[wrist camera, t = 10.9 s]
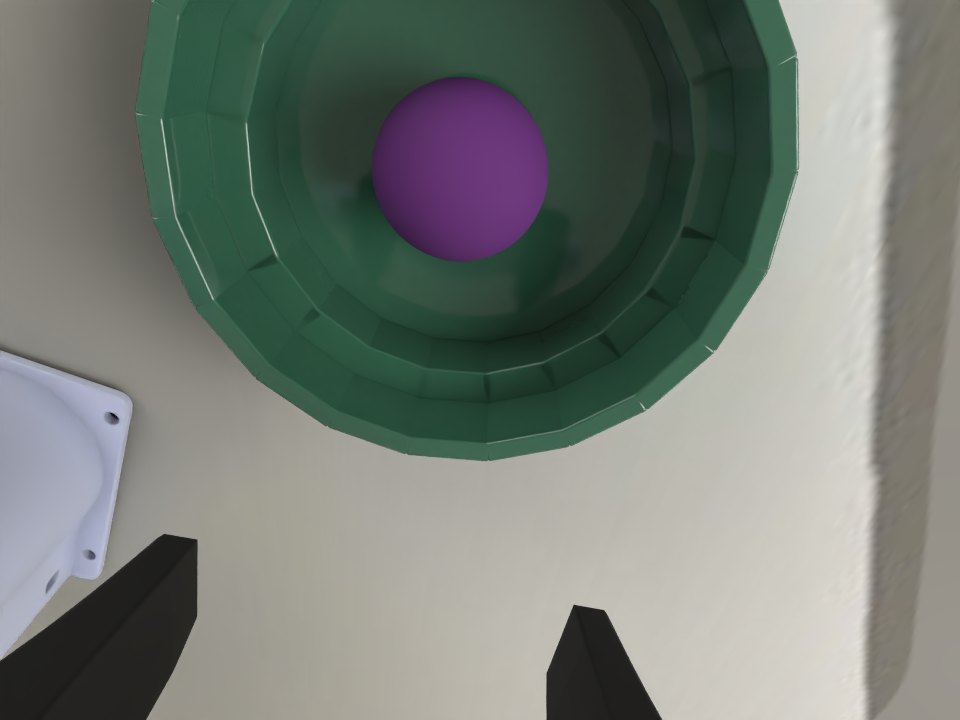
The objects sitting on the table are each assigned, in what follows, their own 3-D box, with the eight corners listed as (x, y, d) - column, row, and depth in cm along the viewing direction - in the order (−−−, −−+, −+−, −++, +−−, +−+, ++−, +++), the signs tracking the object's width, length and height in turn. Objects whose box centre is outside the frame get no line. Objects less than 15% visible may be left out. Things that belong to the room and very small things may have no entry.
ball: (511, 262, 18) (497, 312, 14) (376, 202, 18) (324, 236, 14) (577, 118, 17) (582, 130, 13) (427, 49, 16) (384, 39, 12)
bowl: (581, 429, 22) (602, 525, 17) (188, 282, 20) (99, 347, 15) (826, 9, 16) (954, -9, 12) (303, -266, 14) (209, -420, 9)
